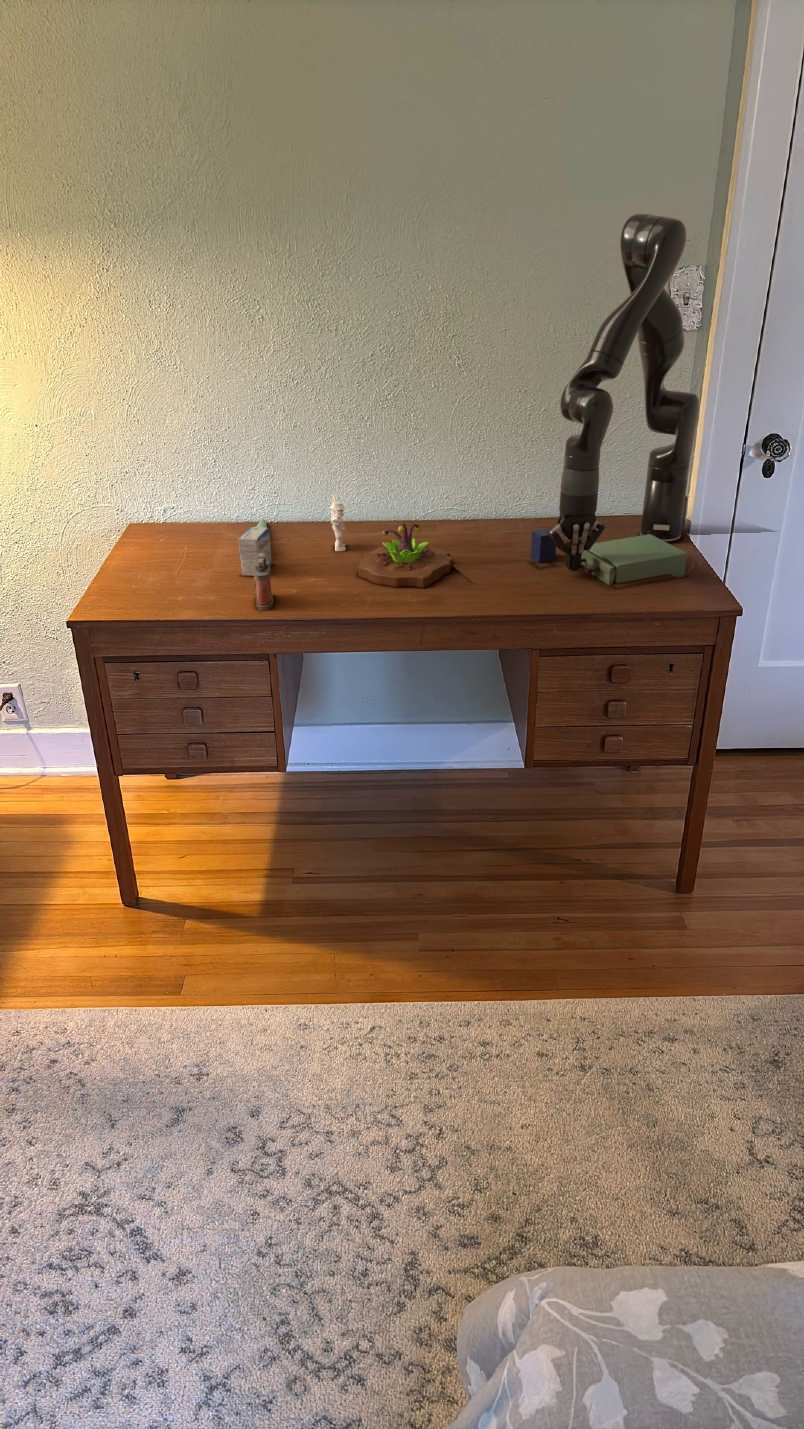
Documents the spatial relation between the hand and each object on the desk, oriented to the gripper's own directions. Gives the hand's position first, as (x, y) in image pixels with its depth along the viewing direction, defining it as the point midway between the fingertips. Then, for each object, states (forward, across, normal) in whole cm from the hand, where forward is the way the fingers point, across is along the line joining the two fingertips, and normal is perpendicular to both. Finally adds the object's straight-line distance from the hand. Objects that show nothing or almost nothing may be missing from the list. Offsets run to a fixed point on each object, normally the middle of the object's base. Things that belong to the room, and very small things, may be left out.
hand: (572, 569), depth 206 cm
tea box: (+3, 0, +12) cm, 12 cm away
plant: (+3, -30, +21) cm, 37 cm away
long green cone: (+3, -54, +53) cm, 75 cm away
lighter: (+3, -63, +16) cm, 65 cm away
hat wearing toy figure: (+3, -38, +40) cm, 56 cm away
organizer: (+3, +15, 0) cm, 15 cm away
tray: (+2, +12, 0) cm, 12 cm away
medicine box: (+3, -59, +35) cm, 69 cm away
